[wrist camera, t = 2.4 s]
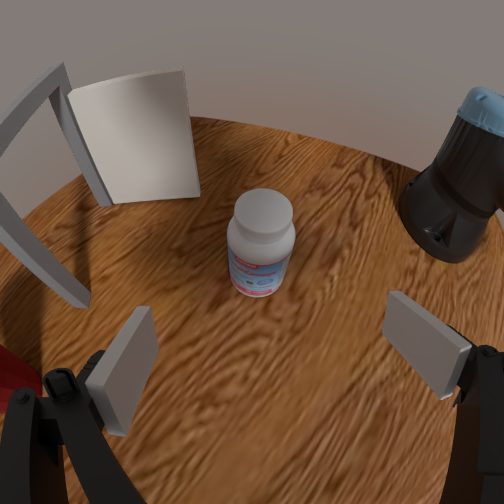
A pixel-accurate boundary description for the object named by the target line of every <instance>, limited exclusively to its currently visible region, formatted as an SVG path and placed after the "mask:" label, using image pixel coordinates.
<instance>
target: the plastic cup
mask: <svg viewBox="0 0 504 504" xmlns="http://www.w3.org/2000/svg"><path fill="white" fill-rule="evenodd" d="M22 387H29V388H31V389H33V390H34V392H35V393H36V395H37V397H42V384H41V380H40V377H39V376H38V374H37V372H36V371H35V370H34V369H33V368H32V367H30V366H29V365H28V364H26V363H25V362H23V361H22V360H20V359H19V358H18V357H17V356H15V355H14V354H13V353H11V352H10V351H9V350H7V349H6V348H5V347H3V346H2V345H1V344H0V413H6V410H7V406H8V401H9V398H10V396H11V394H12V393H13V392H14V391H15V390H16V389H18V388H22Z"/></svg>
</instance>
